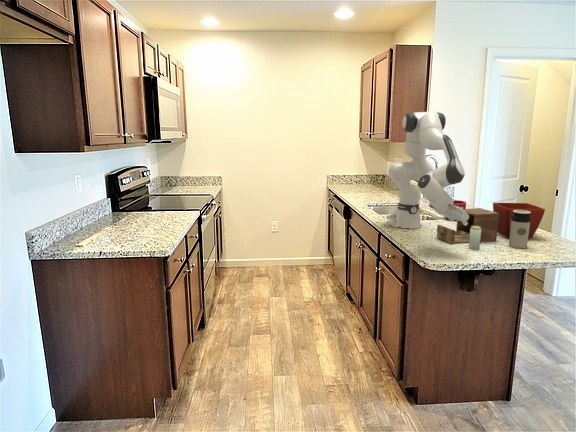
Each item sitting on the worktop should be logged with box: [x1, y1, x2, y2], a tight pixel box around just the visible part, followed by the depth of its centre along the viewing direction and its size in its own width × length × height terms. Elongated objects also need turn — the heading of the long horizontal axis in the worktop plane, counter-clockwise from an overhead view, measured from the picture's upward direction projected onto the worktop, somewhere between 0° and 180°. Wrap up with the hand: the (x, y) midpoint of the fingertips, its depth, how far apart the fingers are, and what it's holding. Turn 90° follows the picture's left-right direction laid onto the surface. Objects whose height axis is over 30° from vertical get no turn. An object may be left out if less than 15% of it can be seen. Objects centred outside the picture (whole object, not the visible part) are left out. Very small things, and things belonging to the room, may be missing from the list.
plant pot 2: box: [492, 202, 546, 239], centre depth 218 cm, size 19×19×17 cm
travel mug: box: [508, 210, 531, 249], centre depth 197 cm, size 8×8×18 cm
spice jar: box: [468, 226, 481, 251], centre depth 195 cm, size 5×5×11 cm
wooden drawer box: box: [455, 207, 499, 244], centre depth 212 cm, size 14×14×15 cm
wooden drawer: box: [436, 224, 470, 245], centre depth 209 cm, size 13×16×7 cm
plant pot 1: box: [444, 199, 467, 222], centre depth 258 cm, size 13×13×12 cm
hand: (459, 222), depth 191 cm, fingers open, 8 cm apart
